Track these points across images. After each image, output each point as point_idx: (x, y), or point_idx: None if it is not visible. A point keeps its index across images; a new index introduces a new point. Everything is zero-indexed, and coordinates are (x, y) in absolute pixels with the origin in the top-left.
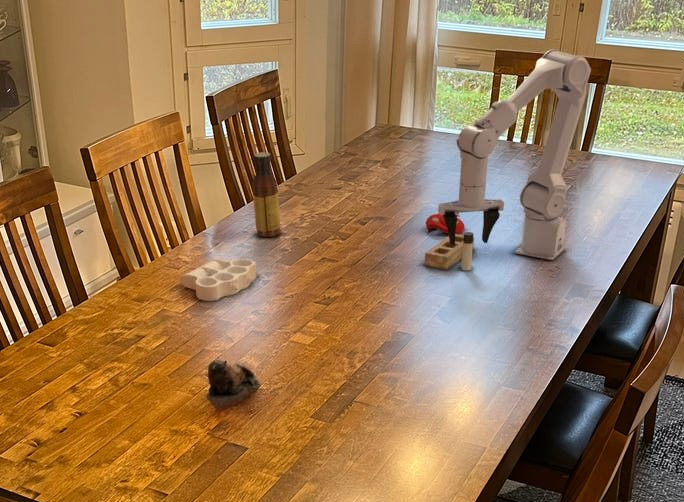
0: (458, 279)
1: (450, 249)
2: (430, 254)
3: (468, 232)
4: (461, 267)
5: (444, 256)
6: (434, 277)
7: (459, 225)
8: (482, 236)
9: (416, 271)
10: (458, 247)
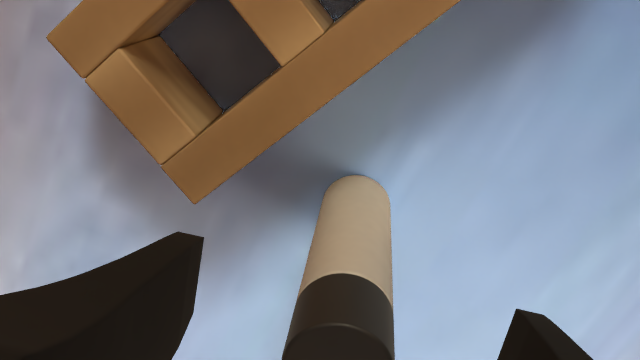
0: (233, 327)
1: (288, 53)
2: (86, 76)
3: (352, 343)
4: (321, 204)
5: (177, 177)
6: (101, 245)
7: None
8: (524, 333)
9: (12, 111)
10: (381, 37)
